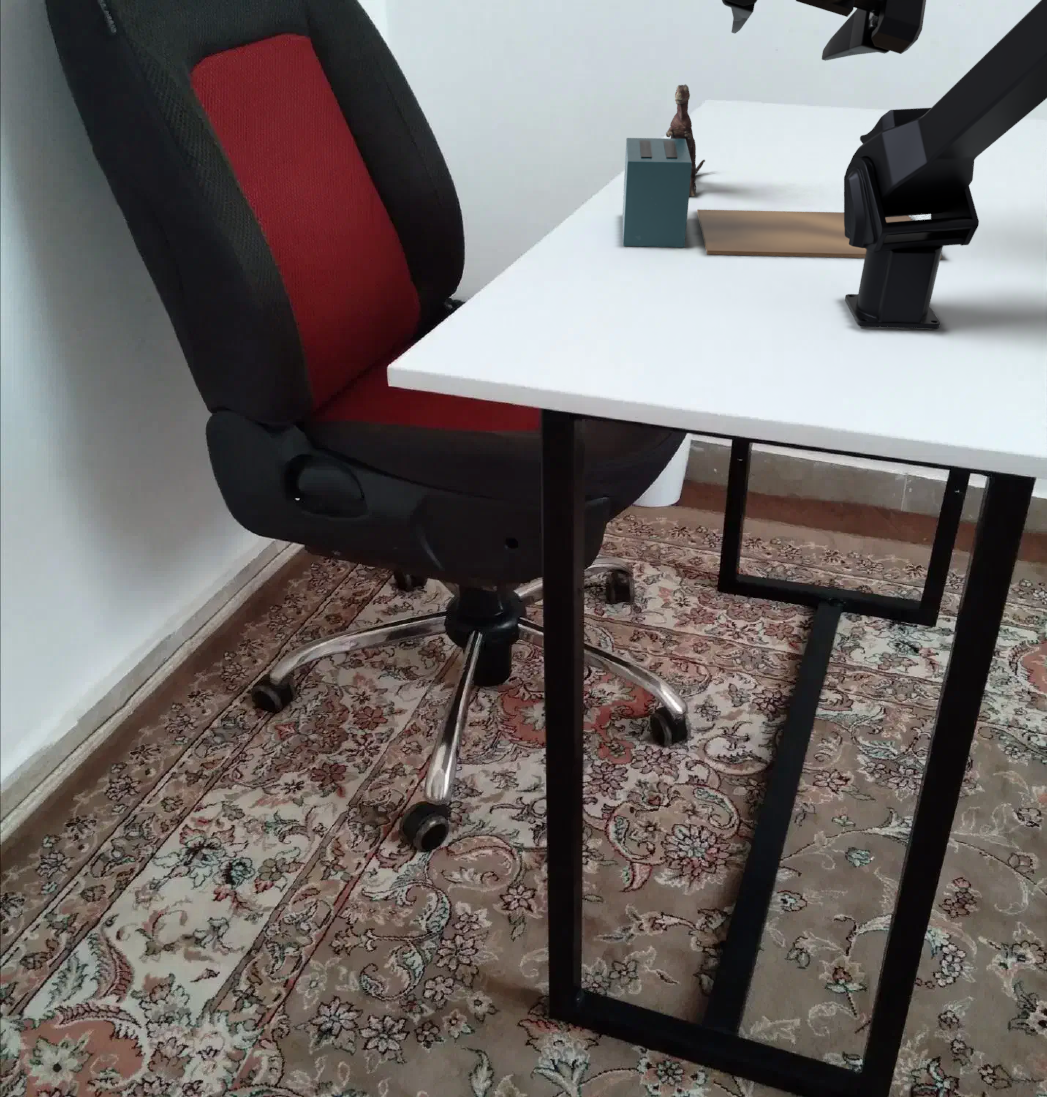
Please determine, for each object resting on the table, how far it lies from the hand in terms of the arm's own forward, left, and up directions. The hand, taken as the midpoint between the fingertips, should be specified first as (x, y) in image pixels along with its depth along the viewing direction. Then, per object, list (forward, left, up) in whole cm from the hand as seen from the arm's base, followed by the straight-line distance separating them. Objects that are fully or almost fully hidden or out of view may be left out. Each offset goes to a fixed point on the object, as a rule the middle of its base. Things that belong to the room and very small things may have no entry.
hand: (779, 41), depth 98 cm
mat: (-3, -5, -17) cm, 18 cm away
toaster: (-3, +11, -17) cm, 21 cm away
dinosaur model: (+15, +7, -17) cm, 24 cm away
